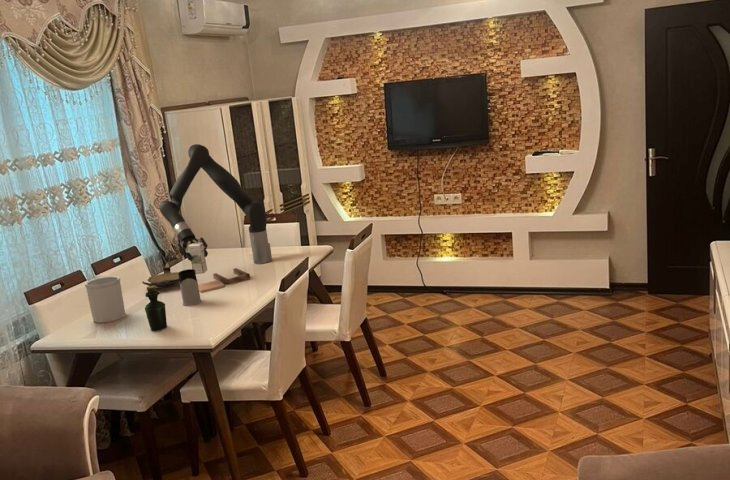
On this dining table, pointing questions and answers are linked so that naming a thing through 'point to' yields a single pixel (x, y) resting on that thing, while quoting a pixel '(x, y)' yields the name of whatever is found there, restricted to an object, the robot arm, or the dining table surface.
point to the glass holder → (189, 287)
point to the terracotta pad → (210, 286)
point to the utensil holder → (105, 298)
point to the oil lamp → (164, 278)
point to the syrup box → (198, 257)
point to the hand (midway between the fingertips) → (199, 257)
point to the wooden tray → (240, 277)
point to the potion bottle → (155, 310)
